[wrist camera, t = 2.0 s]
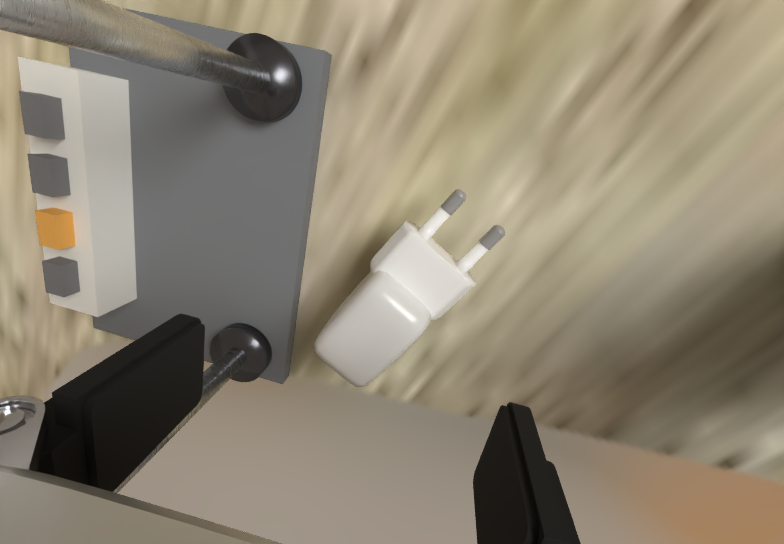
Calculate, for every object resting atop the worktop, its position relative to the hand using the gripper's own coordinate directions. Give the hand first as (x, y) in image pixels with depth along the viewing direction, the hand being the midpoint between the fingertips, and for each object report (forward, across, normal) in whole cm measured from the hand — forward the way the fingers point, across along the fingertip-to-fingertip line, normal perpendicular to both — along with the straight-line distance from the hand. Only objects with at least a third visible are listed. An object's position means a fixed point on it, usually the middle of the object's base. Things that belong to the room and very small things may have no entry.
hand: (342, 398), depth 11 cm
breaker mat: (+13, +14, 0) cm, 19 cm away
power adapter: (+13, -1, 0) cm, 13 cm away
